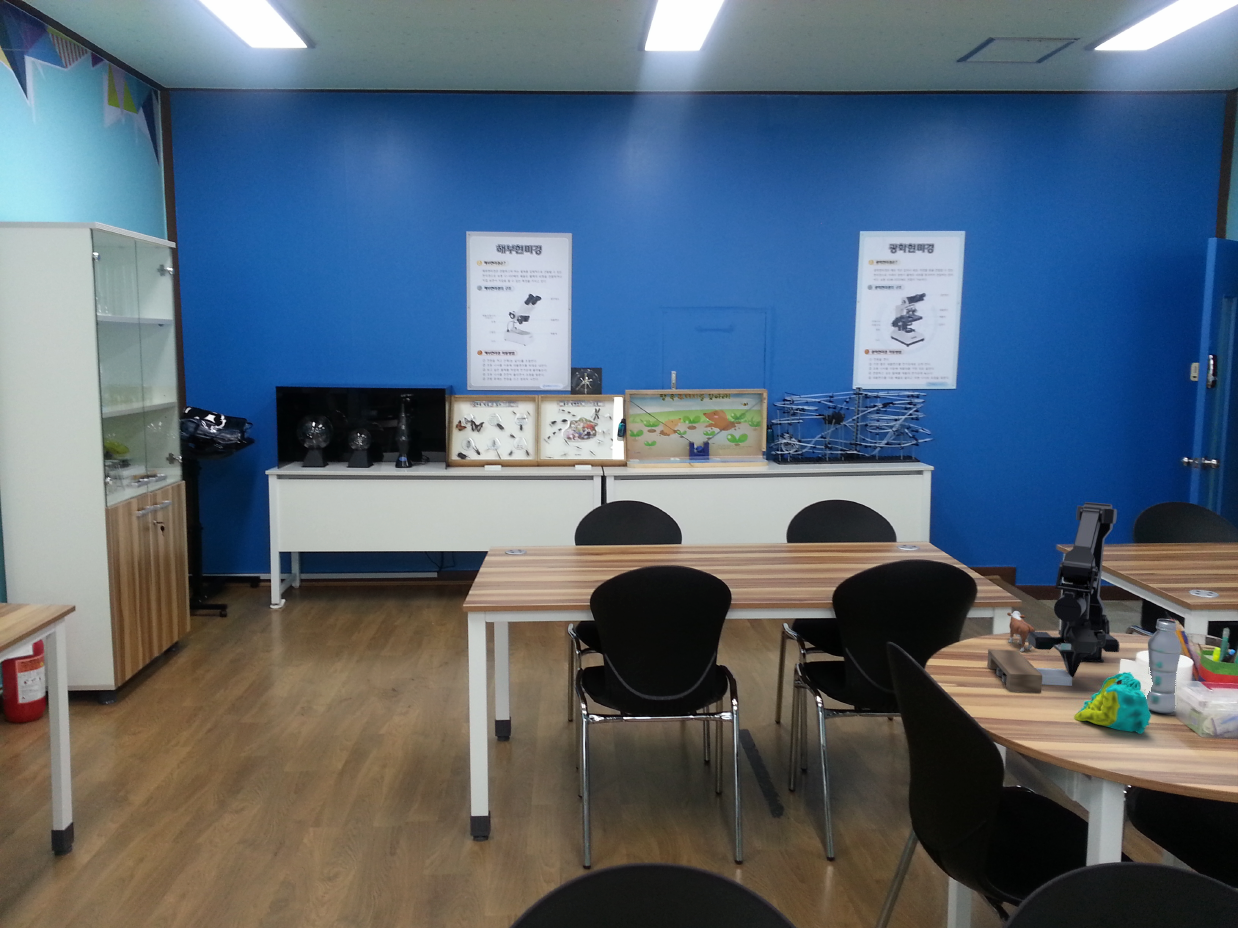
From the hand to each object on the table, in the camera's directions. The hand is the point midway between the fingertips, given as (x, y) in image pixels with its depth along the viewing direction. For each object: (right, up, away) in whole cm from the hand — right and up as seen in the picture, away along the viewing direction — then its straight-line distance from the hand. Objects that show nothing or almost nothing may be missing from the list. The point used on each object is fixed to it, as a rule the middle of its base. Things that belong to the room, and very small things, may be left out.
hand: (1070, 677), depth 223 cm
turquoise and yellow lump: (-3, -4, -26) cm, 26 cm away
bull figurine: (-1, +2, +27) cm, 27 cm away
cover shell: (-6, -1, +1) cm, 6 cm away
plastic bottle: (+11, -4, -18) cm, 21 cm away
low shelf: (-13, -1, +2) cm, 13 cm away
